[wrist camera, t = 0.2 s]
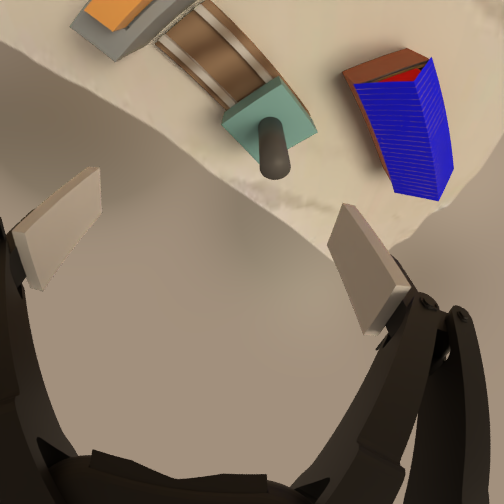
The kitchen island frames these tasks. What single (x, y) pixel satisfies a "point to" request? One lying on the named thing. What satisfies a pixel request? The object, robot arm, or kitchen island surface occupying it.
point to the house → (406, 120)
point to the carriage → (269, 126)
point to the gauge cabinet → (129, 28)
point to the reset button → (115, 11)
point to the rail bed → (218, 55)
